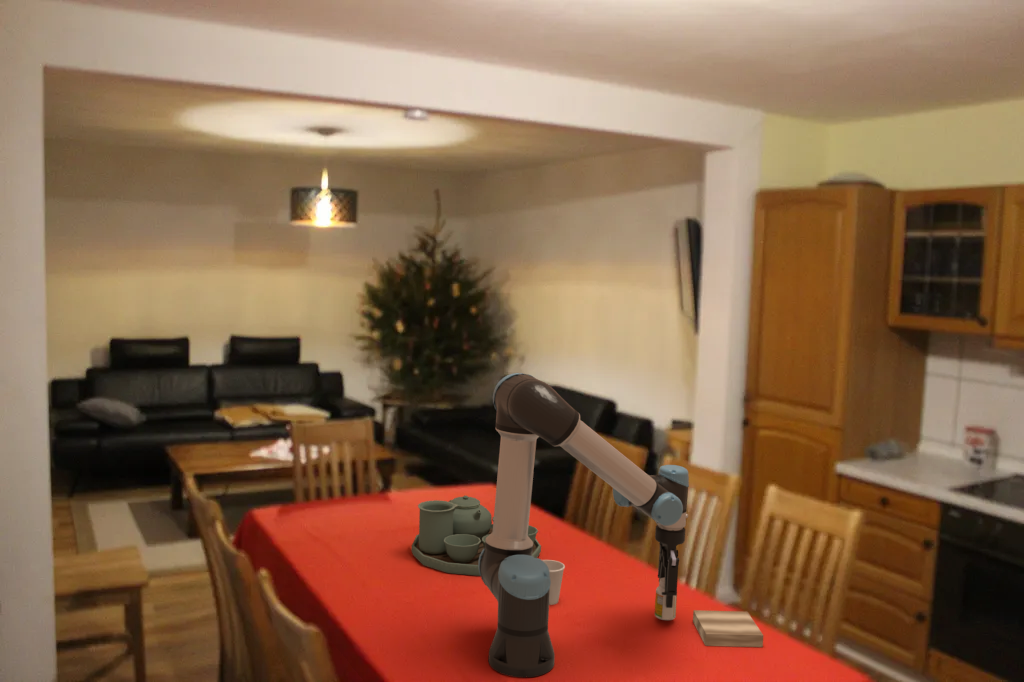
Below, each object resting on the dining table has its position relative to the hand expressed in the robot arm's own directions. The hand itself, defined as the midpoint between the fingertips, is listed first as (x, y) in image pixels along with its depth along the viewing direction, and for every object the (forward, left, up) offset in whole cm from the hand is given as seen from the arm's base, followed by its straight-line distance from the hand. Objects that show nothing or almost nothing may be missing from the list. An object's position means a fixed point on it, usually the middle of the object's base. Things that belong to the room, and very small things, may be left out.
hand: (665, 613), depth 225 cm
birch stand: (-7, -14, -2) cm, 16 cm away
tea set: (+47, +50, -3) cm, 69 cm away
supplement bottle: (0, 0, -1) cm, 1 cm away
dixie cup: (+11, +30, -2) cm, 32 cm away
